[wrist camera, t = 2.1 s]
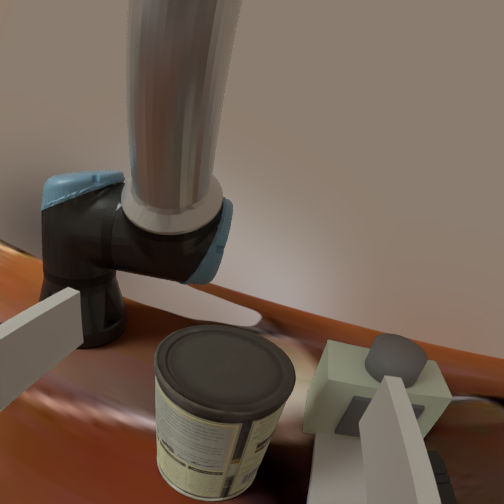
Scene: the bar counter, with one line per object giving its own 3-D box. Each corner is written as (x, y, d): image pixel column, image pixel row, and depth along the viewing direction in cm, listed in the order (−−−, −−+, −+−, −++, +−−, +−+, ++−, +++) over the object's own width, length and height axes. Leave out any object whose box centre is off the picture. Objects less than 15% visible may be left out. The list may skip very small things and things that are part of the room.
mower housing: (430, 526, 16) (505, 462, 13) (287, 523, 19) (339, 464, 15) (407, 408, 36) (444, 342, 33) (307, 391, 38) (335, 318, 35)
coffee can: (175, 414, 30) (184, 311, 26) (263, 439, 29) (298, 341, 25) (139, 480, 20) (127, 380, 16) (247, 513, 19) (291, 429, 15)
